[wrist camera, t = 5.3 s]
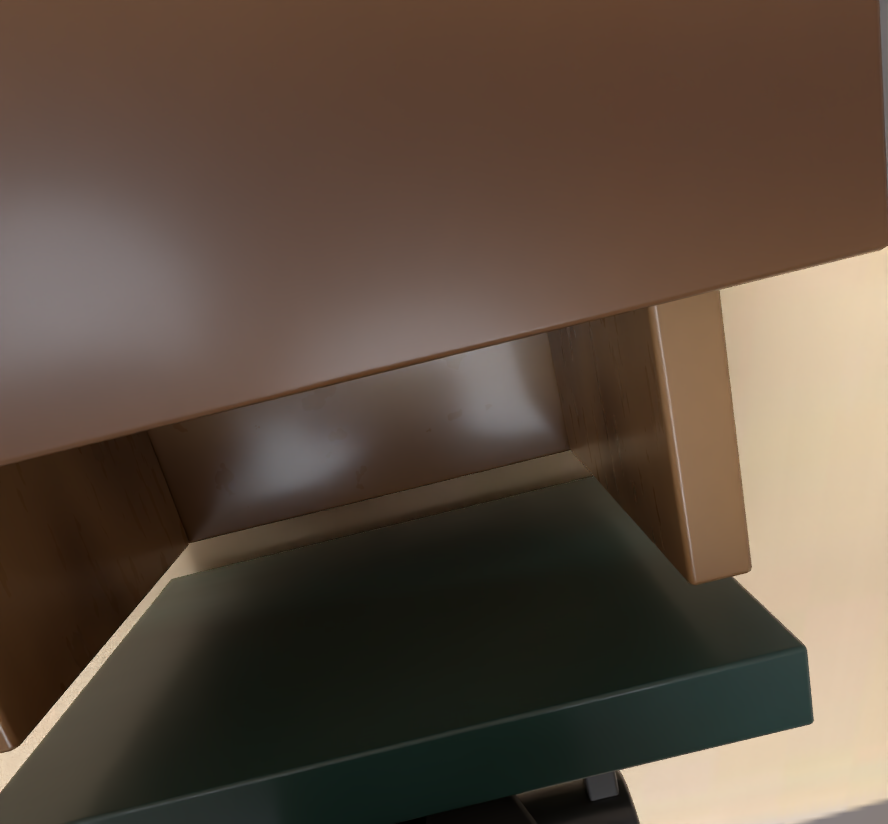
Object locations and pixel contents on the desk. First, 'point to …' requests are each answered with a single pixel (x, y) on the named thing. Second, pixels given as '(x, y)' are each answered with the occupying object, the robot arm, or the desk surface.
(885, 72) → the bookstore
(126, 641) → the drawer
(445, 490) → the desk surface
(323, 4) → the cabinet
